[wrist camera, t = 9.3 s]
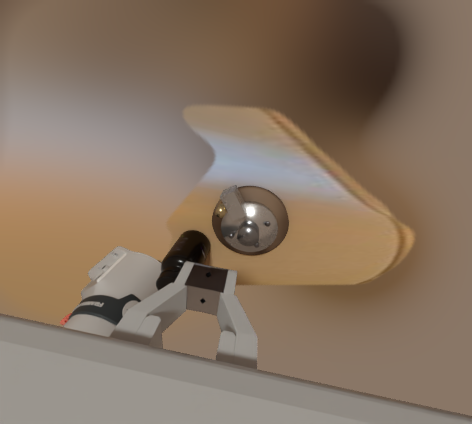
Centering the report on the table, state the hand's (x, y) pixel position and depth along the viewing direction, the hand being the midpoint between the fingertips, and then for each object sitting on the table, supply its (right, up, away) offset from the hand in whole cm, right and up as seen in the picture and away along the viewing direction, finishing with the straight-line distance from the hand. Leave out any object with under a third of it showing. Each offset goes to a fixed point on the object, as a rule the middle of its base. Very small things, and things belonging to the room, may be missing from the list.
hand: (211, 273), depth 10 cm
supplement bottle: (-7, -3, +28) cm, 29 cm away
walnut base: (+4, +2, +24) cm, 24 cm away
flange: (+3, +2, +22) cm, 22 cm away
